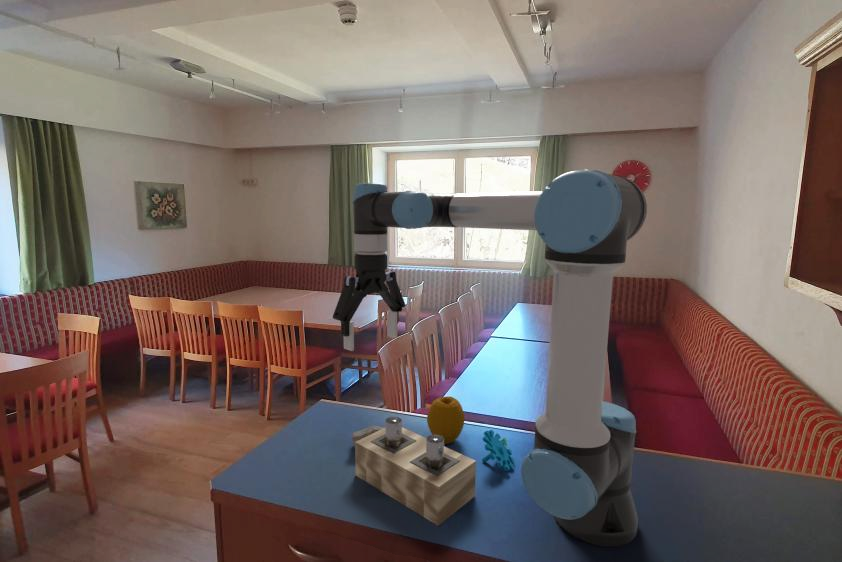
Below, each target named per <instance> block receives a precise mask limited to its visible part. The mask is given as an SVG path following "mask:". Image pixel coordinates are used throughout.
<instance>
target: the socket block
mask: <svg viewBox="0 0 842 562" xmlns="http://www.w3.org/2000/svg"><path fill="white" fill-rule="evenodd" d="M382 428H383V429H381V430H379V431H377V432H375V433H373V434H371V435H369V436H367V437H365V438H363V439H361V440H359V441H356V442H355V446H354V450H355V452H354V453H355V456H354V457H355V460H354V461H355V476H357V478H359V479H361V480H362V481H364V482H366V483H368V484H369V485H371V486H372V487H374V488H376V489H378V490H379V491H380V492H381V493H384V494H385V495H387V496H388V497H390V498H392V499H393V500H396V501H397V502H398V503H400V504H402V505H403V506H405V507H407V508H408V509H409V510H412V511H413V512H415V513H416V514H418V515H420V516H421V517H423V518H425V519H426V520H428V521H429V522H431V523H433V524H434V525H436V526H440V525H441V524H442V523H444V522H445V521H447V519H449V518H450V517H451V516H452V515H454V514H455V513H456V512H457V511H458V510H460V509H461V508H462V507H464V506H465V505H466V504H467V503H468V502H470V501H471V500H473V498H475V497H476V474H477V473H476V471H477V470H476V468H477V460H476V459H473V458H470V457H468V456H466V455H464V454H462V453H460V452H457V451H455V450H453V449H452V448H451V449H450V448H449V447H446V446H444V466H443V467H441V468H440V469H438V470H434V469H432V468H430V467H428V466H426V438H427V437H424V436H422V435H420V434H418V433H416V432H414V431H411V430H409V429H407V428H405V427H403V426H402V444H401V445H400V446H398V447H396V448H394V449H393V448H391V447H389V446H387V445H386V431H385V427H382Z"/></svg>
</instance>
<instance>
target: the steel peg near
mask: <svg viewBox="0 0 842 562" xmlns="http://www.w3.org/2000/svg"><path fill="white" fill-rule="evenodd" d="M425 438H426V466H428V467H430V468H432V469H434V470H438V469H440V468H441V467H443V466H444V447H445V444H444V438H443V437H442V436H440V435H432V434H430V435H427V437H425Z"/></svg>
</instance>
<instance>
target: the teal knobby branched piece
mask: <svg viewBox="0 0 842 562" xmlns="http://www.w3.org/2000/svg"><path fill="white" fill-rule="evenodd" d="M500 439H501V440H500ZM481 440H482V441H483V442H484V443H485V444H484V446H483V447H484V450H486V451H487V452H488V451H489V452H490V453H488V454H487V455H486V456H484V457H482V459H481V461H482V462H483V463H487V462H488V461H489V460H491V461H494V460H496V459H497V462H496V465H497V467H498V468H499V469H501V468H502V467H503V470H504V471H505V472H509V471H510V470H512V469H514V468H515V466H514V463H515V461H516V460H515V458H513V456H512V455H513V452H512V450H511V449H510V448H508V443H507V442H508V440H507V438H506V437H503V438H502V437H501V435H500V434H499V433H497V432H496V433H495V431H494V430H493V429H490V430H485V431H484V432H483V436H482V439H481Z"/></svg>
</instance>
